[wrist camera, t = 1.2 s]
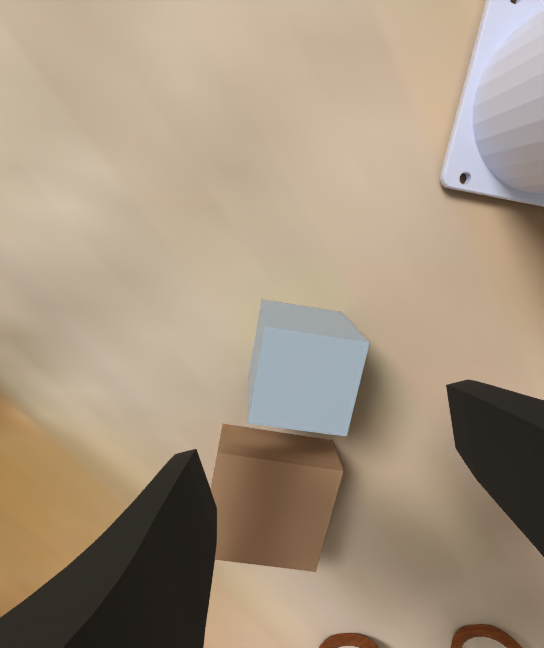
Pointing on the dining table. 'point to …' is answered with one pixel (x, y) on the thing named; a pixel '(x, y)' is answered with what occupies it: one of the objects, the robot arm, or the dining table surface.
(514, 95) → the robot arm
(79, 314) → the dining table surface
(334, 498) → the walnut slab
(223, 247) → the dining table surface
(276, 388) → the slate cube
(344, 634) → the glasses
